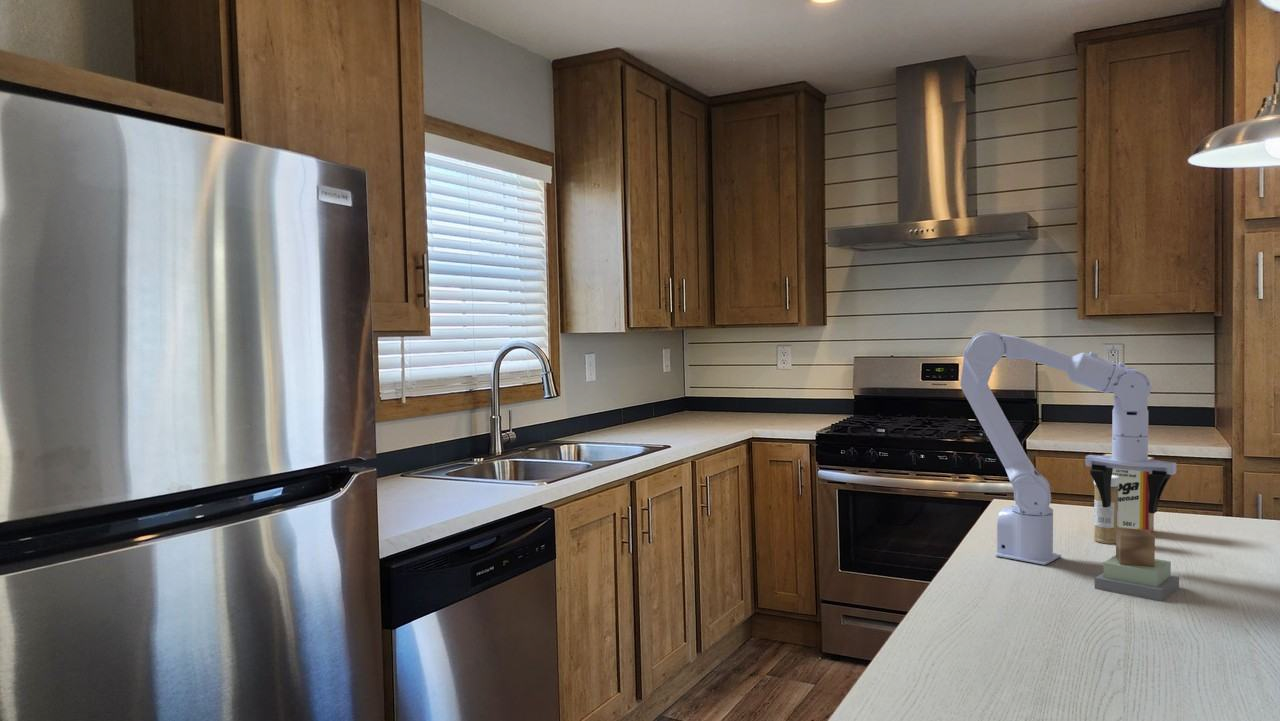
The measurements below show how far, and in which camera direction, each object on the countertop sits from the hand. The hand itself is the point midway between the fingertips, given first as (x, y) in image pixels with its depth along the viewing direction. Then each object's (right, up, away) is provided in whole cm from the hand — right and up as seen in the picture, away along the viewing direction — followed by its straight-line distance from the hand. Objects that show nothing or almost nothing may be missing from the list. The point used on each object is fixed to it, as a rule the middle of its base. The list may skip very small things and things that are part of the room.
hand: (1129, 509), depth 162 cm
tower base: (-6, -12, -12) cm, 18 cm away
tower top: (-5, -9, -12) cm, 16 cm away
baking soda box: (+14, -9, +27) cm, 31 cm away
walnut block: (-6, -7, -12) cm, 15 cm away
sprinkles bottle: (+5, -10, +18) cm, 21 cm away
